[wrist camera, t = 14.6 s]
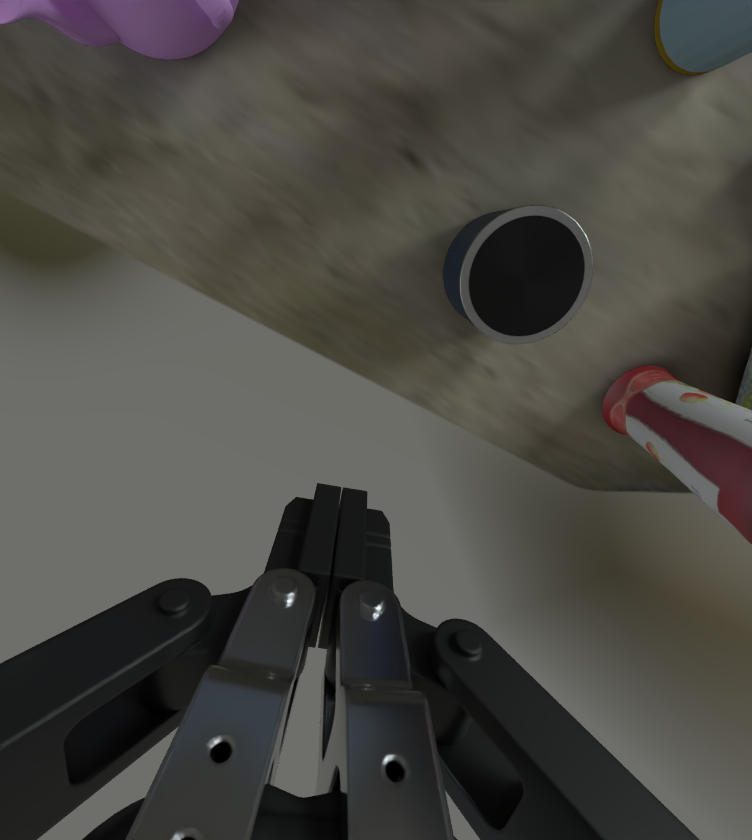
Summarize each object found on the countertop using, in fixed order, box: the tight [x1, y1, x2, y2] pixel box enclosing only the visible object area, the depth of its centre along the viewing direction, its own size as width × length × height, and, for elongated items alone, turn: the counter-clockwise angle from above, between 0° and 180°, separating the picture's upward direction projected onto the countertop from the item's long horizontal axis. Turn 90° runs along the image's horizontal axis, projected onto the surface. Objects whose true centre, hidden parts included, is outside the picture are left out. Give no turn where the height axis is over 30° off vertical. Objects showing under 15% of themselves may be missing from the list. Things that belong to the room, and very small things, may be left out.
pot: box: [443, 205, 593, 344], centre depth 32 cm, size 9×9×8 cm
